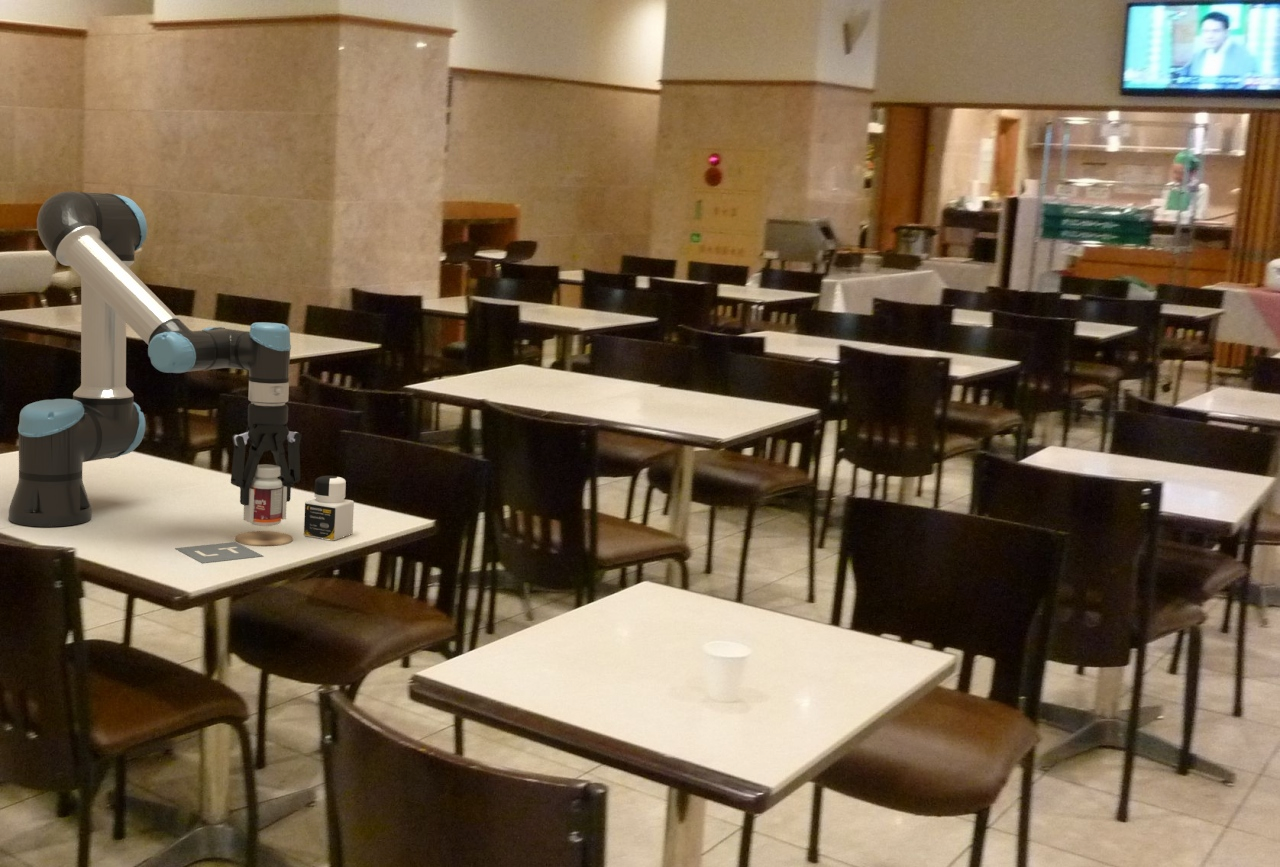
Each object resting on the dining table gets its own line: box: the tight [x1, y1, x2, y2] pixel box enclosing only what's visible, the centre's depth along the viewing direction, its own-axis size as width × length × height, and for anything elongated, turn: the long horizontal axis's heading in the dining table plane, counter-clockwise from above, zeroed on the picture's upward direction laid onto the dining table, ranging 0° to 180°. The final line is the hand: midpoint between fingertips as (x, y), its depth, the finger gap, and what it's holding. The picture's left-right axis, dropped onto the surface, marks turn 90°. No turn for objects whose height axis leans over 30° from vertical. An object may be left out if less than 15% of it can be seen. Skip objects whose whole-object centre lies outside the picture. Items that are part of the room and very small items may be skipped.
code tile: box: [174, 541, 264, 564], centre depth 258 cm, size 12×12×1 cm
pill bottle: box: [250, 463, 282, 527], centre depth 269 cm, size 6×6×11 cm
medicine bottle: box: [303, 475, 355, 541], centre depth 276 cm, size 7×7×12 cm
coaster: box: [234, 530, 294, 547], centre depth 270 cm, size 11×11×1 cm
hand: (264, 519), depth 270 cm, fingers closed on pill bottle, 6 cm apart
